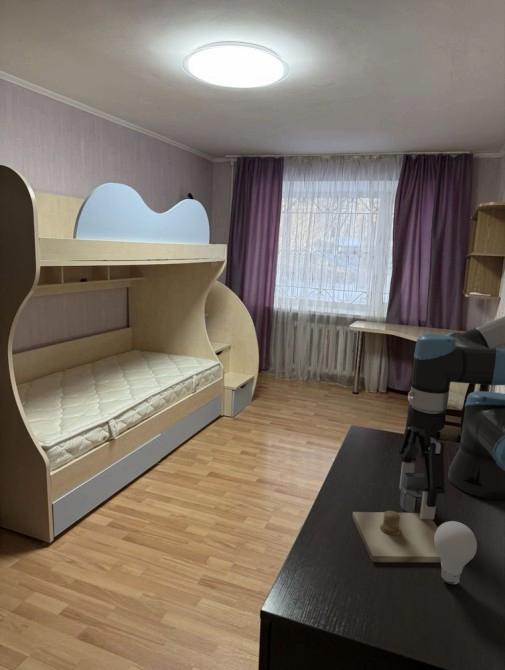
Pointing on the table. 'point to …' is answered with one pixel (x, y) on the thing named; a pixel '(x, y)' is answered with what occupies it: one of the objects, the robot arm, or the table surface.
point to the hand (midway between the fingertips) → (415, 502)
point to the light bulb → (454, 549)
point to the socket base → (397, 536)
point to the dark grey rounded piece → (412, 492)
